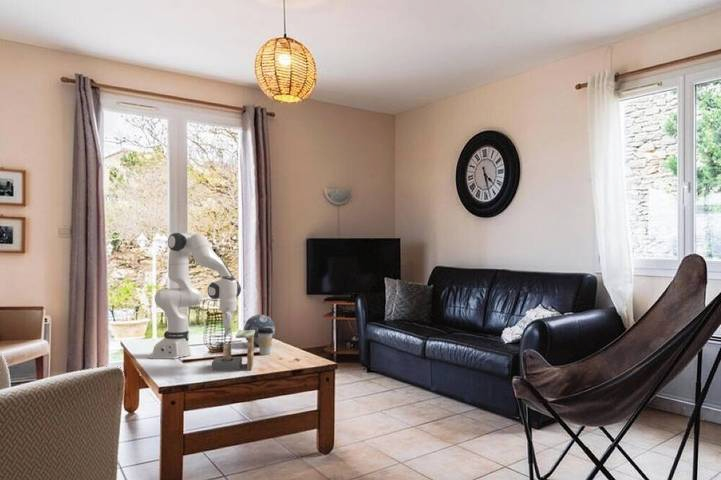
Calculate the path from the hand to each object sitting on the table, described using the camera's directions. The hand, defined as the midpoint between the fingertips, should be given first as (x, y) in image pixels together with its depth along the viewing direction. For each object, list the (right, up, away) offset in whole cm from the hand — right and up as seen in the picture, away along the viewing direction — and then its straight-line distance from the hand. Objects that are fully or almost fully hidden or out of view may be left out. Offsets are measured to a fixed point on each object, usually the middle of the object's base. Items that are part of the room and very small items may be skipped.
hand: (227, 333), depth 259 cm
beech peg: (0, -18, 0) cm, 18 cm away
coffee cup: (+14, -19, +32) cm, 39 cm away
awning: (+9, -18, +1) cm, 20 cm away
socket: (0, -18, 0) cm, 18 cm away
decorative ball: (+5, -19, +56) cm, 59 cm away
